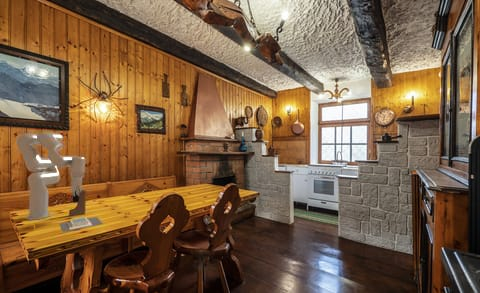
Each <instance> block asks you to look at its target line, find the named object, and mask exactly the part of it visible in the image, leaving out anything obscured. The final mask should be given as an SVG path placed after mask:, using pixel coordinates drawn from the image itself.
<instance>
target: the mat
mask: <svg viewBox="0 0 480 293" xmlns="http://www.w3.org/2000/svg"><path fill="white" fill-rule="evenodd" d="M86 218H87V217H86ZM87 220H88V221H89V222H88V224H86V225H81V226H76V227H72V226H71V224H70V221H65V222H59V226H60V229H61V232H62V233H65V232H70V231H76V230H80V229H85V228H91V227H96V226H101V225H104V223H103V221H102V220H100V218H99V217H97V216H94V217H88V218H87Z"/></svg>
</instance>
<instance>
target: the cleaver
mask: <svg viewBox="0 0 480 293" xmlns="http://www.w3.org/2000/svg"><path fill="white" fill-rule="evenodd" d="M86 197H87V190H86V189H81V192H79V202H76V203H77V204H76V207H74V208H71V209H69V210H68V217H70V218H71V217H77V216H84V215H86V204H87V203H86V202H87V201H86Z"/></svg>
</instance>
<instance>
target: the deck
mask: <svg viewBox="0 0 480 293" xmlns="http://www.w3.org/2000/svg"><path fill="white" fill-rule="evenodd" d="M69 222H70V224H71V226H72V227H76V226H81V225H86V224H88V222H89V221H88V220H87V217H80V218H74V219H70V221H69Z"/></svg>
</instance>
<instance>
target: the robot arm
mask: <svg viewBox="0 0 480 293" xmlns="http://www.w3.org/2000/svg"><path fill="white" fill-rule="evenodd" d="M63 141H64V137H63V135H62V134H60V133H58V132H50V131H48V132H47V131H43V132H40V133H33V132H32V133H31V132H29V133H28V132H27V133H25V132H24V133H21V134H19V135H18V136H17V138H16V146H17V149H18V150H19V152H20V153H21V155H22V157H23V161H24V164H25V165H26V169H27V170H28V171H29V172H34V173H31V174H30V175H29V176H28V179H27V180H28V186H29V206H28V207H29V209H28V213H29V214H28V215H27V216H26V217H25V220H26V221H33V220H42V219H46V218H49V217H51V213H49V188H47V185H53V184H58V183H59V182H60V181H61V175H60V172H59V168H68V167H69V168H70V178H71V181H70V182H71V183H70V192H71V193H73V194H72V203H77V202H79V192H81V190H83V189H82V188H83V187H82V185H83V178H85V173H86V172H85V170H86V160H87V159H86V157H84V156H76V155H60V154H59V152H61V151H62V150H63V147H64V145H63V144H62V143H63ZM35 146H41V147H44V148H45V149H46V150H47V151H48V152H47V157H42V156H41V154H40V152H39V150H38V149H37V148H35Z"/></svg>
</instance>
